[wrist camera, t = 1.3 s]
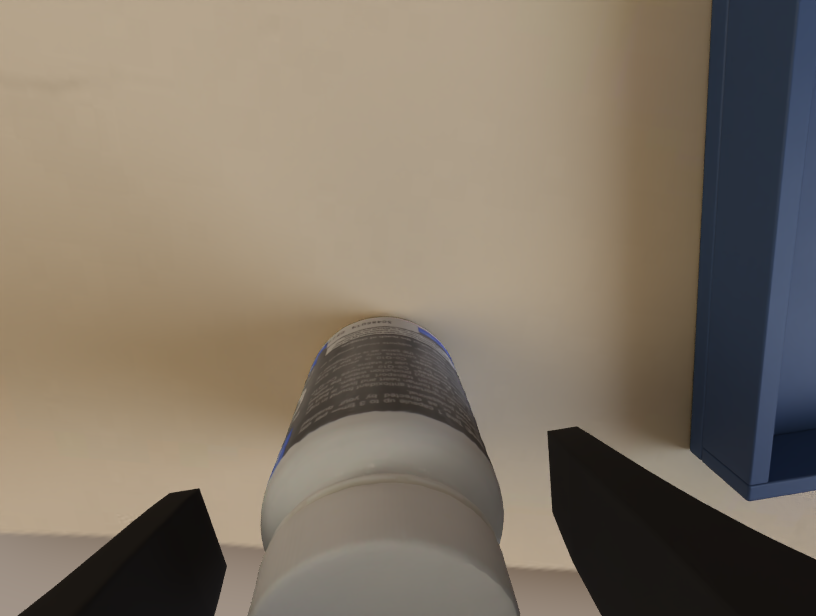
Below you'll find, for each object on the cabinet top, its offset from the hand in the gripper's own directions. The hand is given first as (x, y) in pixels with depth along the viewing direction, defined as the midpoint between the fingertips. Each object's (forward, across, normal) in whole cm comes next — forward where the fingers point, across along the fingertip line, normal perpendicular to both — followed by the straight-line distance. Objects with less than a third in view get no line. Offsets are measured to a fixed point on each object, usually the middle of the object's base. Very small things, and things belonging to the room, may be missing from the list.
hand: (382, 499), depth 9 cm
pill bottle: (+6, 0, 0) cm, 6 cm away
